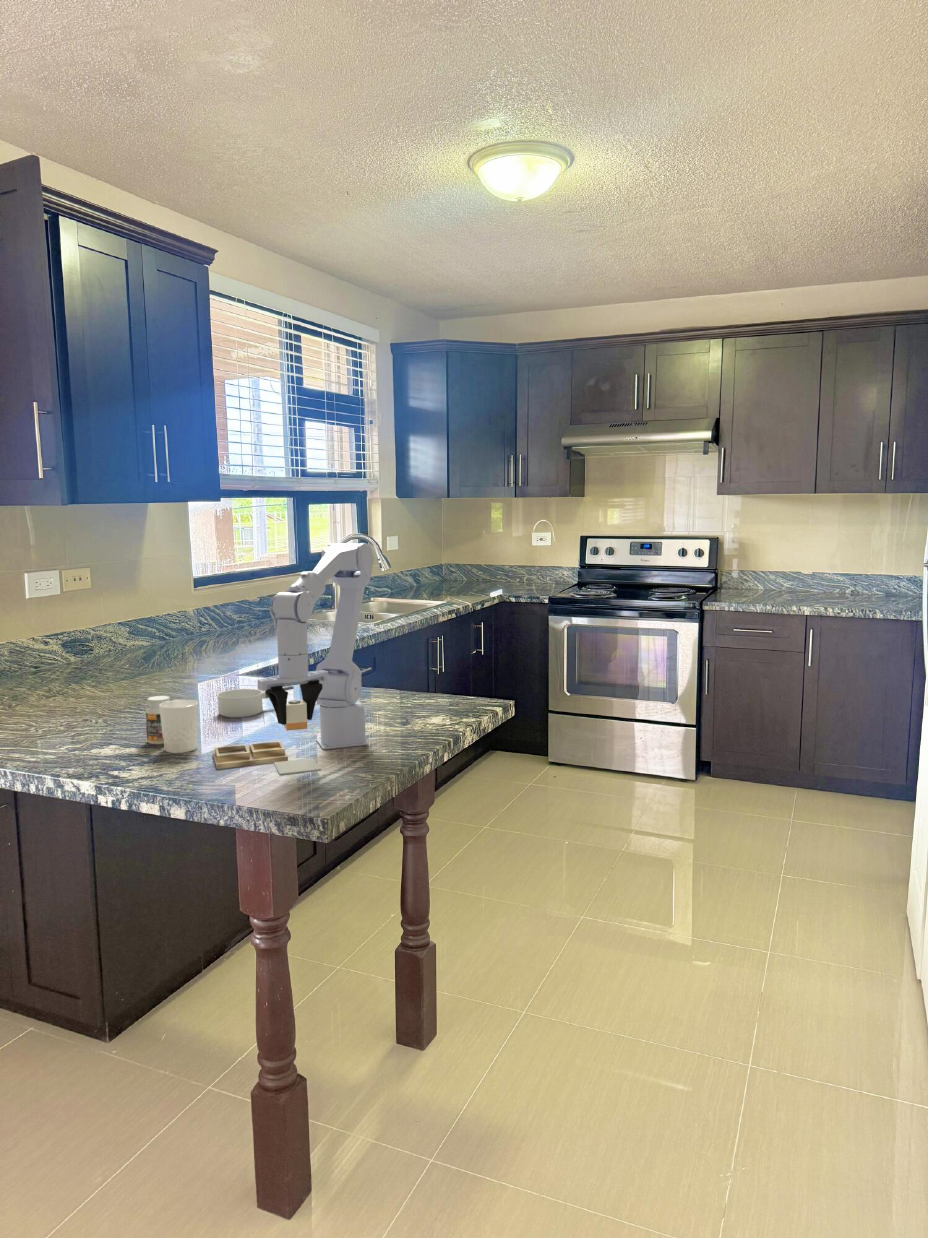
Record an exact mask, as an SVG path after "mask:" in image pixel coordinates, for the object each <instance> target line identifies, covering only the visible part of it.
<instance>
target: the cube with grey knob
mask: <svg viewBox="0 0 928 1238" xmlns="http://www.w3.org/2000/svg"><path fill="white" fill-rule="evenodd" d="M286 716H287V720H286V724H285V725H283V727H284V729H285V730H286V731H287V732H288V731H297V730H307V729H308V719H307V704H306V703H305V701H304V700H303V699H293V700H287V704H286Z"/></svg>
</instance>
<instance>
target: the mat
mask: <svg viewBox="0 0 928 1238" xmlns="http://www.w3.org/2000/svg"><path fill="white" fill-rule="evenodd" d="M273 766H274V767H275V769H276V770H277V773H278V775H279V776H285V775H286V776H287V775H294V774H300V773H310V772H317V771H318V772H319V771H322V768H321V767H320V765H319V764H318V763H317V761H316V759H315V758H314V757H311V758H303V759H302V758H301V759H292V760H288V761H280V762H273Z"/></svg>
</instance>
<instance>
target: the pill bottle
mask: <svg viewBox="0 0 928 1238" xmlns="http://www.w3.org/2000/svg"><path fill="white" fill-rule="evenodd" d="M167 701H171V697H170V696H168V695H155V696H150V697H147V705H148V707H147V708H146V710H145V725H146V726H145V727H146V742H147V743H148V744H151V745H164V739H163V735H162V727H161V719H160V709H159V705H160V704H161V703H164V702H167Z"/></svg>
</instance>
